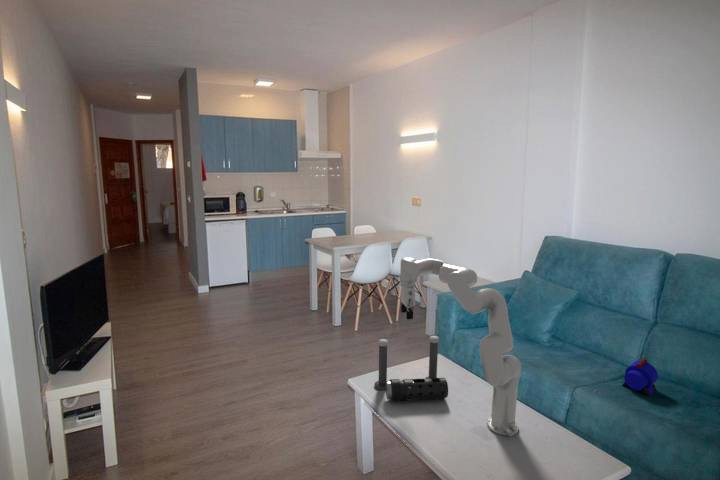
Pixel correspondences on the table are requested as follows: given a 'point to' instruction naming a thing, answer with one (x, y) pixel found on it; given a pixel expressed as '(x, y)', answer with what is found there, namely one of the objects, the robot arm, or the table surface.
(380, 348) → the cord post
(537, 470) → the table surface
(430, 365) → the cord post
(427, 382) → the muzzle brake
